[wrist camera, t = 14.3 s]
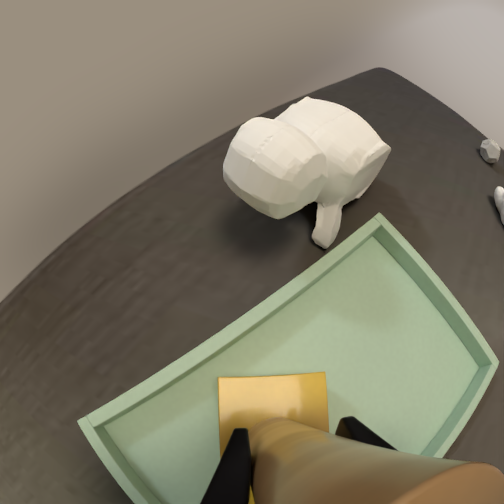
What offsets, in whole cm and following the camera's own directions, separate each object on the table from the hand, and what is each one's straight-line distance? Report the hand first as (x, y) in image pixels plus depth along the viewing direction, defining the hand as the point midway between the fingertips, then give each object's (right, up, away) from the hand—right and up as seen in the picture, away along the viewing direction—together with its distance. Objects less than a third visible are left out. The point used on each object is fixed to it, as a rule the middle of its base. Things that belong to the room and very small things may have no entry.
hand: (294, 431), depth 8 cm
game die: (+33, +19, +22) cm, 44 cm away
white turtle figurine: (+3, +10, +15) cm, 18 cm away
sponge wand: (0, -4, +5) cm, 7 cm away
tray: (+3, -4, +7) cm, 9 cm away
